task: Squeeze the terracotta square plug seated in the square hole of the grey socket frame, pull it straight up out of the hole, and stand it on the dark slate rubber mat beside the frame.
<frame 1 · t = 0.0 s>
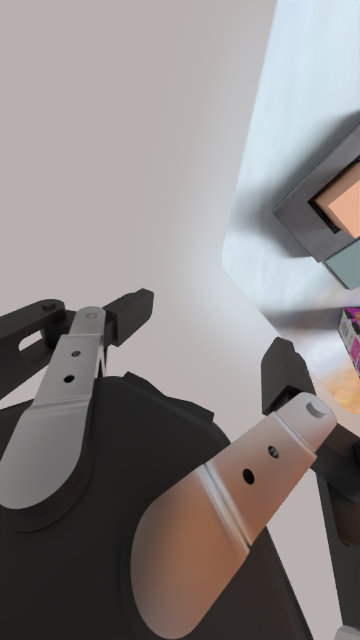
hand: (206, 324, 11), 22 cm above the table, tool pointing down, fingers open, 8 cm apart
plug: (352, 197, 17), in the grey socket frame
grey socket frame: (340, 195, 21), on the table
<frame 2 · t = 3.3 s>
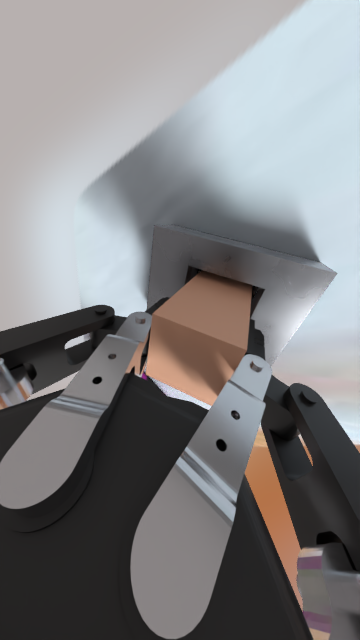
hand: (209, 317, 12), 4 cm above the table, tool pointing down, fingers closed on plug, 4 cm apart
plug: (208, 319, 12), in the grey socket frame, touching gripper
grey socket frame: (220, 295, 15), on the table
when the fingers open (6 cm above the table, at t = 10.0 s): plug drops 2 cm, resting on mat.
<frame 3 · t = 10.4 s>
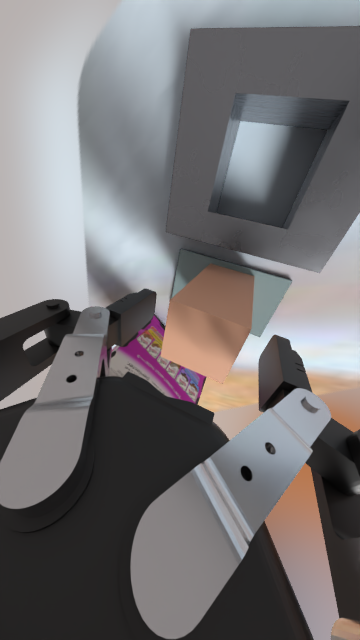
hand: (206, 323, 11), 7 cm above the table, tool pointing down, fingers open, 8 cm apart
plug: (215, 309, 13), on the mat
mat: (222, 293, 17), on the table
grey socket frame: (262, 178, 12), on the table
candy bar box: (170, 351, 24), on the table
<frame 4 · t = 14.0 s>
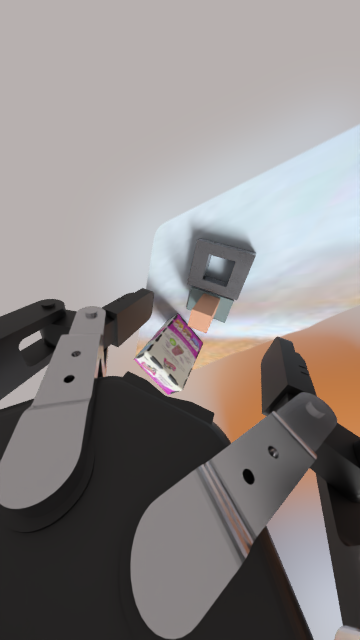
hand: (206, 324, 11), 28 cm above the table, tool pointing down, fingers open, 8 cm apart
plug: (204, 311, 37), on the mat
mat: (208, 304, 41), on the table
grey socket frame: (220, 267, 36), on the table
candy bar box: (185, 331, 48), on the table
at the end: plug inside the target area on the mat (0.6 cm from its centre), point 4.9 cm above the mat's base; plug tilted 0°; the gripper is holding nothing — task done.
